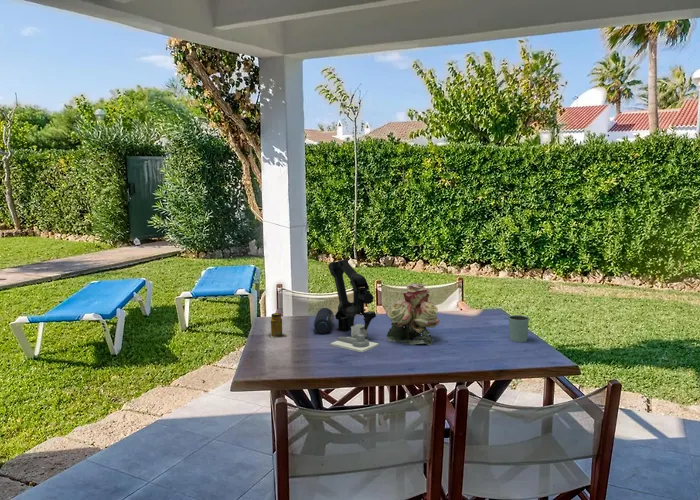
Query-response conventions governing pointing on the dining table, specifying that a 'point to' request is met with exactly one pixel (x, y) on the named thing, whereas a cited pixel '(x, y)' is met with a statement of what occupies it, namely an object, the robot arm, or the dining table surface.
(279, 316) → the condiment
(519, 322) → the green cup
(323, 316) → the portable speaker
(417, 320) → the rose bouquet
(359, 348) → the board
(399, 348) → the dining table surface
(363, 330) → the brushed grey cube
